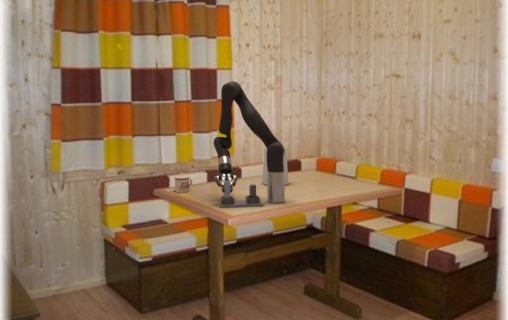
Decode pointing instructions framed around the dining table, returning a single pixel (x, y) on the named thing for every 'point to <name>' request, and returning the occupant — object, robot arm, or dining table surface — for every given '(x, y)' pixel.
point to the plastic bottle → (264, 179)
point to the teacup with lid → (182, 183)
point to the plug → (227, 189)
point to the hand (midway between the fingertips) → (227, 191)
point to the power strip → (250, 200)
